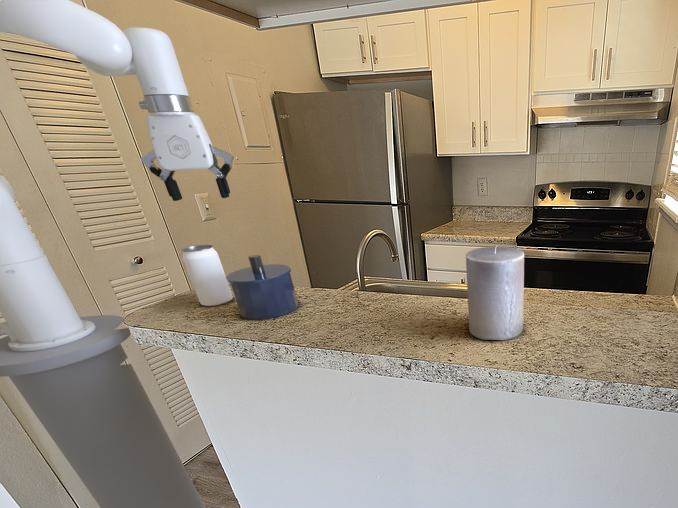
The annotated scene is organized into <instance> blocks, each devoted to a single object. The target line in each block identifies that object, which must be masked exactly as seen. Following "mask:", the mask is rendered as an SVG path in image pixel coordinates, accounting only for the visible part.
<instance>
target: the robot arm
mask: <svg viewBox="0 0 678 508" xmlns="http://www.w3.org/2000/svg"><path fill="white" fill-rule="evenodd" d="M0 33H4V34H5V33H6V34H12V35H15V36H20V37H25V38H27V39H31V40H34V41H37V42H40V43H43V44H45V45H47V46H51V47H54V48H56V49H59V50H61V51H64V52H66V53H69V54H72V55H74V56H75V57H76V58H77V60H78V61H79V62H80V63H81V65H83V66H84V67H85V68H87V69H88V70H89V71H91V72H93V73H95V74H98V75H101V76H103V77H123V76H133V75H134V76H136V78H137V79H136V80H137V81H138V84H139V87H140V90H141V92H142V95H143V97H142V99H143V100H142V101H138V105H139V108H140V109H141V110H146V111H147V112H148V113H149V114H150V115H146V117H145V118H146V125H147V130H148V134H149V138H150V142H151V147H152V150H151V151H149V152H148V153H147V154H145V155H143V156H142V157H141V158H140V161H141V163H143V165H144V166H145V167H146V168H147V169H148V170H149V171H150V173H152V174H153V175H154V176H156V177H158V178H159V179H160V180H161V181H162V182H163V183H164V185H165V188H166V190H167V193H168V196H169V197H171V199H172V201H173V202H177V201H178V202H179V201H181V200H182V199H183V196H182V193H181V190H180V187H179V184H178V182H177V180H176V179H174V178H173V177H174V175H175V173H176V171H177V172H178V171H199V170H210V172H211V173H212V174H214V175H215V176H216V178H215V182H216V185H217V188H218V191H219V195H220V197H221V198H222V199H227V198H229V197H230V194H231V190H230V186H229V183H228V179H227V177H228V175H229V173H230V172H231V170H232V166H233V162H234V155H233V154H232V153H230V152H227V151H225V150H223V149H221V148H218V147H216V146H213V143H212V141H211V137H210V136H209V133H208V131H207V129H206V128H205V125H204V123H203V121H202V119H201V118H200V116H199V115H198V114H196V113H195V110H194V108H193V104H192V101H191V98H190V95H189V91H188V88H187V86H186V83H185V80H184V76H183V73H182V70H181V67H180V64H179V61H178V58H177V55H176V51H175V48H174V45H173V42H172V40H171V38H170V37H169V35H168V34H167V33H166V32H164V31H162V30H160V29H157V28H153V27H145V26H144V27H143V26H131V27H127V28H124V29H123V30H121V28H120V27H118V26H117V25H116V24H115V23H114V22H112V21H111V20H109V19H108V18H106V17H105V16H103V15H101V14H100V13H97V12H95V11H93V10H91V9H89V8H87V7H85V6H83V5H81V4H79V3H76V2H74V1H72V0H0ZM218 157H220V158H222V159H223V164H222V166H221V167H220V166H219V161H218ZM154 161H156V162H157V164H158V166H159V167H158V166H157V165H156V164H155V162H154ZM17 205H18V204H17V203H16V195H15V191H14V189H13V187H12V186H11V184H10V183H9V181H8V180H7V179H6V178H5V177H4V176H3V175H2V174H0V314H1V316H2V318H3V319H4V322H0V337H1V336H9V338H10V339H11V340H10V341H9V343H8V345H9V347H10V349H11V350H13V351H17V352H30V351H38V350H44V349H49V348H54V347H58V346H61V345H65V344H68V343H71V342H74V341H77V340H79V339H82V338H84V337H86V336H88V335H90V334H91V333H92V332H94V331H95V329H96V326H95V325H94V323H93V322H91V321H84V320H81V319H80V317H81V316H80V315H79V314H78V312H77V311H76V308H75V307H74V305H73V303H72V301H71V299H70V298H69V296H68V294H67V292H66V290H65V289H64V287H63V285H62V283H61V281H60V280H59V277H58V276H57V274H56V273H55V271H54V269H53V267H52V265H51V264H50V263H51V262H50V261H49V260H48V258H47V256H46V255H45V253H44V251H43V249H42V248H41V246H40V244H39V242H38V240H37V239H36V237H35V235H34V233H33V231H32V230H31V228H30V226H29V225H28V223H27V221H26V219H25V218H24V216H23V215H22V213H21V211H20V209H19V207H18V206H17Z"/></svg>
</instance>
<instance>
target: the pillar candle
mask: <svg viewBox="0 0 678 508" xmlns="http://www.w3.org/2000/svg"><path fill="white" fill-rule="evenodd" d="M524 252H525V251H523V250H521V249H518V248H516V247H509V246H498V245H497V244H495V246H485V247H477V248H475V249H471V250H469V251H468V252H466V254H465V265H466V285H467V286H466V289H467V309H468V330H469V333H470V334H471V335H472V336H474V337H475V338H478V339H480V340H486V341H488V340H489V341H490V340H491V341H492V340H493V341H506V340H510V339H513V338H516V337H518V336H519V335H520V334H522V332H523V330H524V295H525V294H524V293H525V292H524V290H525V289H524V288H525V253H524Z"/></svg>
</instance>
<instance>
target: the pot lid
mask: <svg viewBox="0 0 678 508" xmlns="http://www.w3.org/2000/svg"><path fill="white" fill-rule="evenodd" d="M247 259H248V262H249V265H250V266H249V267H248V266H247V267H244V268H241V269H237V270H235V271H233V272H230V273H229V274H227V275H225V276H226V280H227V281H228V283H229V284H230V283H234V284H252V283H260V282H266V281H270V280H274V279H278V278H281V277H283V276H285V275H287V274H289V273H290V274H291V271H292V269H291V266H289V265H287V264H286V265H285V264H276V263H275V264H264V263H263V260H262V257H261V255H260V254H251V255H248V256H247Z"/></svg>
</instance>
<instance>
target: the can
mask: <svg viewBox="0 0 678 508" xmlns="http://www.w3.org/2000/svg"><path fill="white" fill-rule="evenodd" d="M181 251H182V261H183V263H184V266H185V269H186V272H187V274H188V276H189V279H190V282H191V284H192V287H193V289H194V292H195V294H196V297H197V299H198V301H199V304H200V305H202V306H204V307H216V306H217V307H218V306H221V305H225V304H227V303H230V302H231V301H232V300H233V299H234V297H233V296H234V295H233V292H232V289H231V286H230V283H229V282H228V281H227V280H226V276H227V275H226V273H225V270H224V267H223V264H222V262H221V258H220V256H219V253H218V252H217V250H216V249H215V248H214V245H213V244H197V245H192V246H188V247H183V248H182V249H181Z"/></svg>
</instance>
